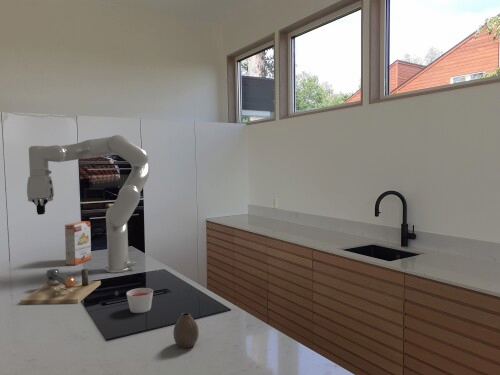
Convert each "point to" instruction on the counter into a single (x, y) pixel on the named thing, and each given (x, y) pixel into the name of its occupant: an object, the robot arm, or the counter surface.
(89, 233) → the cracker box
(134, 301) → the candle
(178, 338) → the vase
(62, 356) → the counter surface
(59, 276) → the lever
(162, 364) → the counter surface
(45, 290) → the base
